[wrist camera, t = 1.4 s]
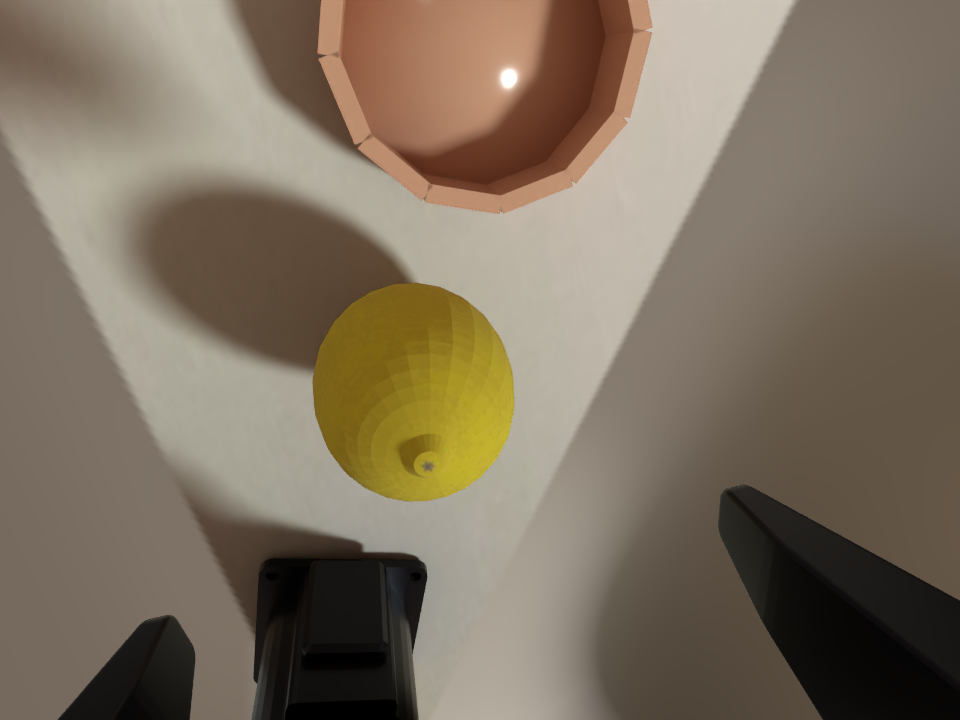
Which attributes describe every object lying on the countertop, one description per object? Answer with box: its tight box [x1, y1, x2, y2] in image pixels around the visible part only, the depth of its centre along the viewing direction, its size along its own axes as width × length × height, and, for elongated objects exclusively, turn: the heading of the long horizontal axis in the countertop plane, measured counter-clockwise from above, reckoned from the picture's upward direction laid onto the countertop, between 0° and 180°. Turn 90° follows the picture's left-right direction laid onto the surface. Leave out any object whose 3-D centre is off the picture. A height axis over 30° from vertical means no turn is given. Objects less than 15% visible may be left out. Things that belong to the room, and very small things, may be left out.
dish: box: [317, 0, 652, 214], centre depth 16 cm, size 8×8×2 cm
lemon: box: [313, 283, 514, 501], centre depth 17 cm, size 6×6×8 cm
